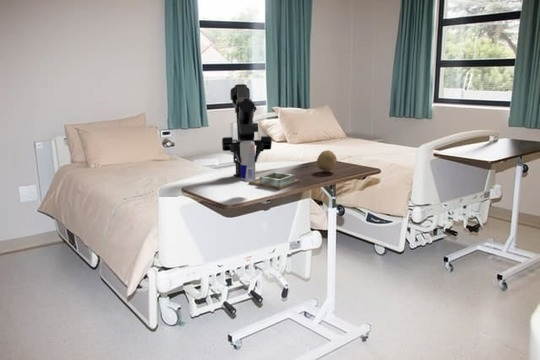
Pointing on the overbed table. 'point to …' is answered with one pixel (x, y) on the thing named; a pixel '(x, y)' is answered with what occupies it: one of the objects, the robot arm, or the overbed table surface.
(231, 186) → the overbed table surface
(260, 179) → the socket dock
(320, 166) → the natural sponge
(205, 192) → the overbed table surface
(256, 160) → the robot arm
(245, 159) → the beverage can
